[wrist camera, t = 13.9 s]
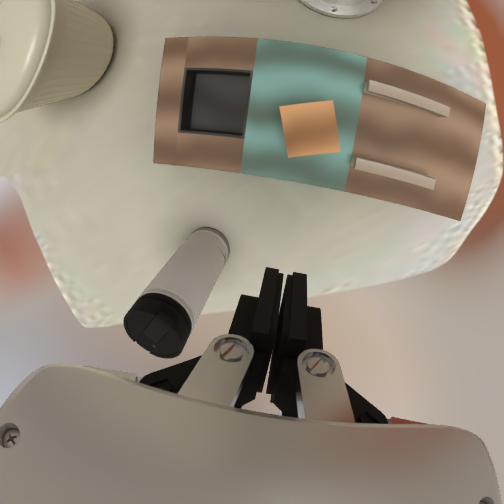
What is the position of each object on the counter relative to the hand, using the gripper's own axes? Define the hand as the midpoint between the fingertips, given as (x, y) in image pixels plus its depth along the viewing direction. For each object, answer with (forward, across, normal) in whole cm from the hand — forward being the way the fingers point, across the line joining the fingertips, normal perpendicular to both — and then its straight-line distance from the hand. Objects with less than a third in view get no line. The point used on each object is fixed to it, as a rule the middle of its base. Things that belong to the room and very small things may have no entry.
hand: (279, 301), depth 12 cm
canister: (+27, +33, -16) cm, 46 cm away
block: (+23, -1, -6) cm, 24 cm away
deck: (+27, -2, -8) cm, 28 cm away
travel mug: (+27, +10, +12) cm, 32 cm away
